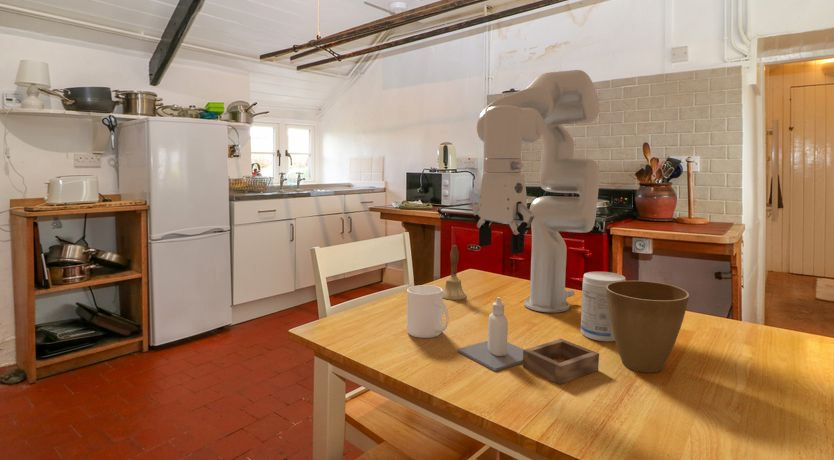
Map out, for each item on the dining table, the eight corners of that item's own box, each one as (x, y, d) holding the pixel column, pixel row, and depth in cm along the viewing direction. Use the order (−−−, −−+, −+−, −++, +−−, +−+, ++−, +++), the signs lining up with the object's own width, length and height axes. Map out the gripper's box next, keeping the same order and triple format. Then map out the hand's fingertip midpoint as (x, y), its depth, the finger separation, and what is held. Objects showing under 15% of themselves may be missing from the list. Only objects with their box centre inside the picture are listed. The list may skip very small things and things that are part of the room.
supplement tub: (603, 326, 120) (606, 269, 118) (632, 340, 111) (636, 278, 109) (571, 331, 116) (574, 272, 114) (598, 345, 108) (602, 281, 105)
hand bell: (464, 292, 151) (465, 243, 149) (468, 300, 143) (469, 247, 141) (438, 292, 151) (439, 243, 148) (441, 300, 142) (441, 247, 140)
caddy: (560, 354, 102) (561, 338, 102) (598, 370, 94) (599, 353, 94) (522, 366, 96) (523, 350, 96) (559, 384, 88) (560, 366, 88)
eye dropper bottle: (508, 348, 104) (510, 294, 102) (506, 358, 99) (508, 302, 97) (488, 346, 105) (489, 293, 103) (485, 355, 100) (486, 300, 98)
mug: (434, 345, 107) (434, 299, 105) (399, 331, 116) (399, 289, 114) (460, 336, 113) (460, 292, 111) (425, 324, 121) (425, 283, 120)
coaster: (498, 340, 110) (498, 337, 110) (537, 358, 100) (537, 355, 100) (457, 351, 104) (457, 348, 103) (495, 371, 94) (495, 368, 94)
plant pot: (614, 345, 107) (618, 276, 105) (689, 363, 98) (695, 287, 96) (591, 367, 96) (595, 290, 94) (673, 389, 86) (680, 304, 84)
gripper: (547, 168, 93) (544, 254, 95) (487, 166, 107) (486, 241, 110) (520, 169, 89) (517, 258, 91) (461, 167, 103) (460, 245, 106)
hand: (500, 249), depth 101 cm, fingers open, 9 cm apart
